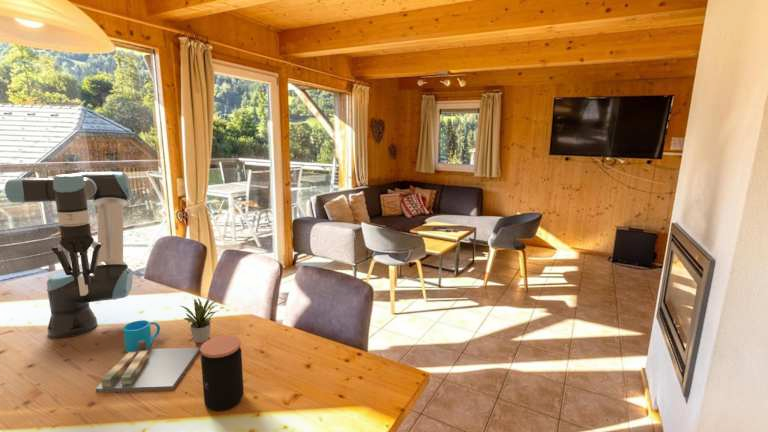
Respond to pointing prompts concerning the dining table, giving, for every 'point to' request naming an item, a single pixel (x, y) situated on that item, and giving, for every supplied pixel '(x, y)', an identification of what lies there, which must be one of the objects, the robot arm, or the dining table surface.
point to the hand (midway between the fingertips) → (84, 294)
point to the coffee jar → (222, 372)
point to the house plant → (200, 321)
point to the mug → (138, 334)
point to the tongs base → (122, 365)
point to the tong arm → (134, 367)
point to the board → (157, 371)
